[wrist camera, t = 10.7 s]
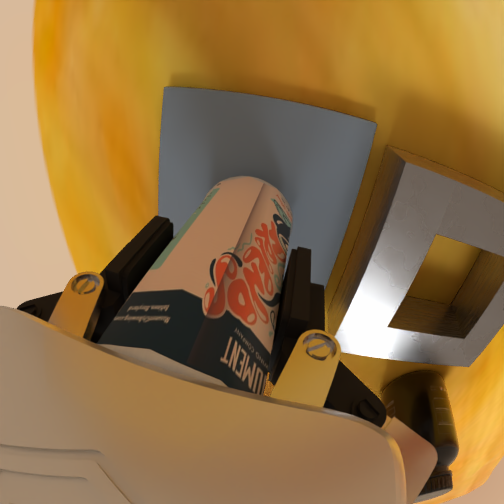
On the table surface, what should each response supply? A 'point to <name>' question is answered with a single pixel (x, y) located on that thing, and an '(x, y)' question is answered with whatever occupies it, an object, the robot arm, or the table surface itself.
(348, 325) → the gray square frame
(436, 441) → the supplement bottle
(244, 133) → the mat
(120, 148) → the table surface
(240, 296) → the beer can
